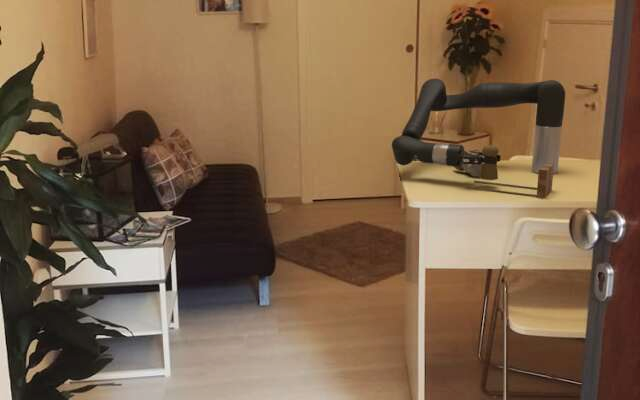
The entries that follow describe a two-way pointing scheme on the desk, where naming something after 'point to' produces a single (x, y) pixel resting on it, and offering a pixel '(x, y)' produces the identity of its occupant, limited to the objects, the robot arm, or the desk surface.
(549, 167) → the lane
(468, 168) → the ceramic sculpture
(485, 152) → the cork
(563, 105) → the robot arm
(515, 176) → the desk surface
